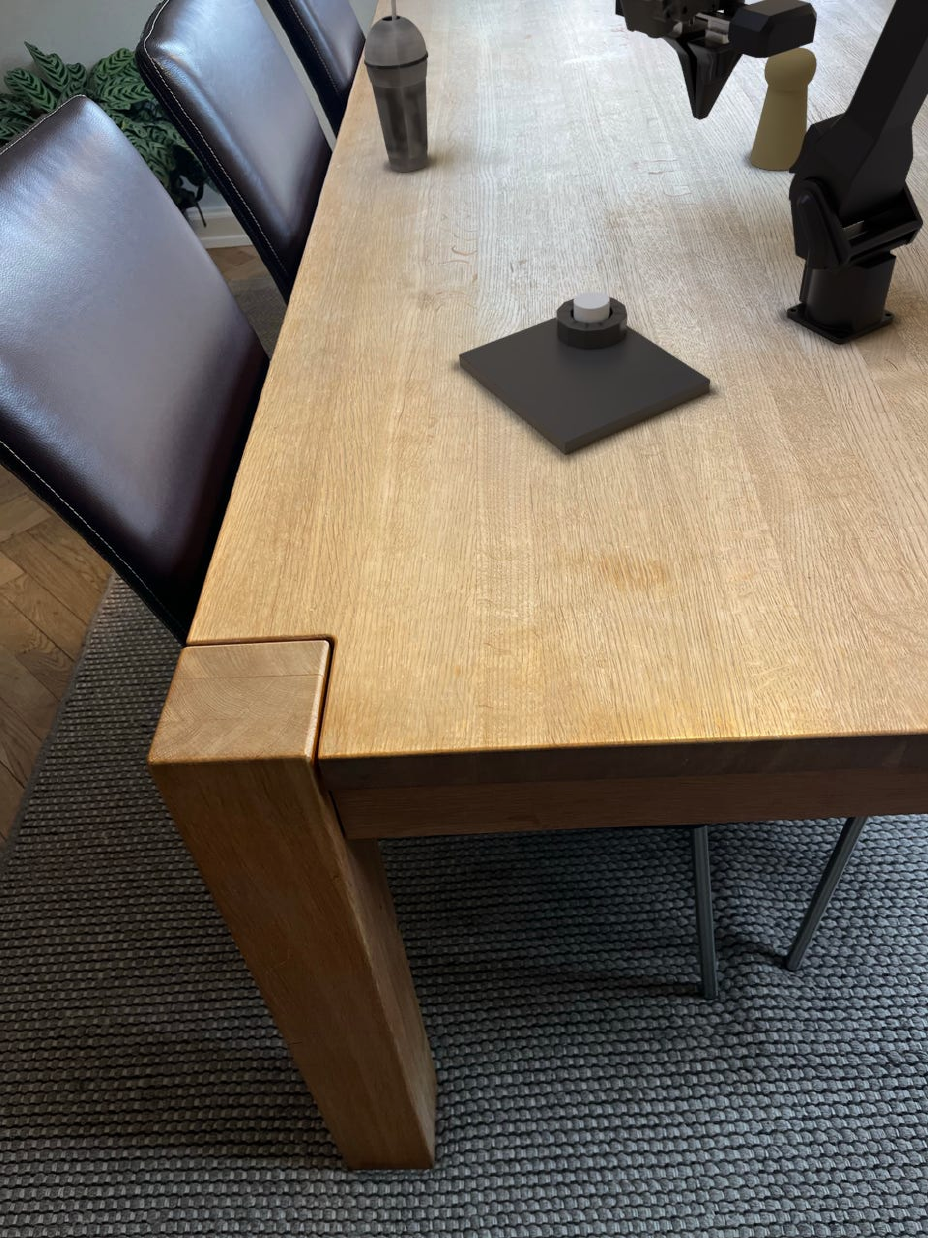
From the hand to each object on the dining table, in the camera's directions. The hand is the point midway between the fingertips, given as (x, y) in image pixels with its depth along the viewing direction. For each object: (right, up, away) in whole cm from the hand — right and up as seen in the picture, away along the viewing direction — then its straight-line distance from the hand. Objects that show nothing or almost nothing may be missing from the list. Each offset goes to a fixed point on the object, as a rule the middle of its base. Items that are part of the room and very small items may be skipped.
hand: (700, 117), depth 88 cm
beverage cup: (-28, +9, +29) cm, 41 cm away
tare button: (-11, -20, -5) cm, 23 cm away
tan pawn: (+14, +6, +21) cm, 25 cm away
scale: (-12, -25, -7) cm, 29 cm away
